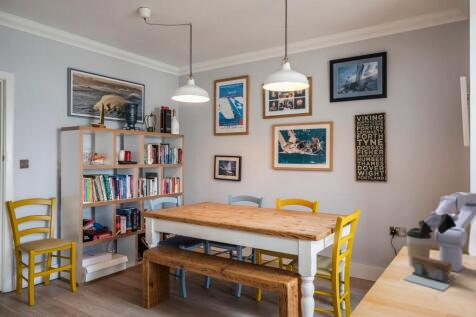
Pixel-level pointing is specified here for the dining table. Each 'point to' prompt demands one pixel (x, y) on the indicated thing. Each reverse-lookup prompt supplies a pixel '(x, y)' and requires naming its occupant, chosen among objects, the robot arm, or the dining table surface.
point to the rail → (432, 264)
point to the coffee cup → (417, 245)
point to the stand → (430, 274)
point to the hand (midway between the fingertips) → (430, 233)
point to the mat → (427, 282)
